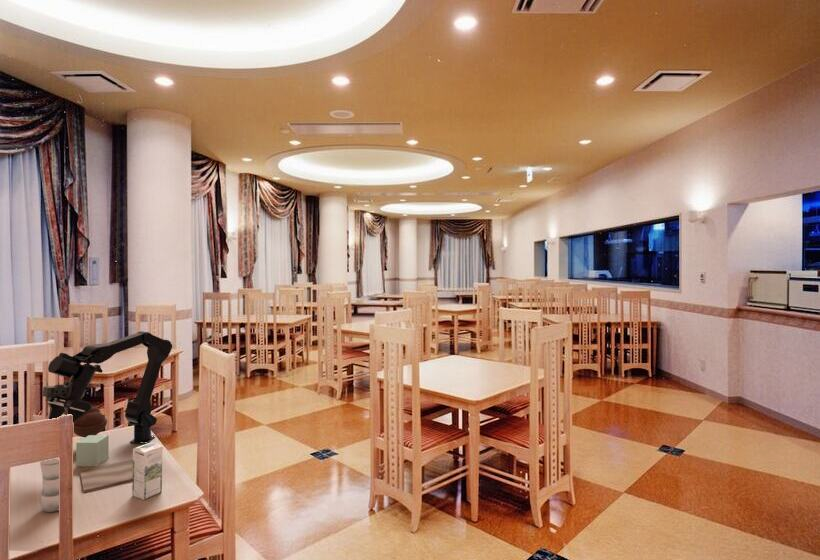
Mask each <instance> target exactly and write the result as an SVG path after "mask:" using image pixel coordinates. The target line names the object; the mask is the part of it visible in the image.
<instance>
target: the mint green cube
mask: <svg viewBox="0 0 820 560" xmlns="http://www.w3.org/2000/svg"><path fill="white" fill-rule="evenodd" d="M109 437H110V436H109V434H108V435H107V434H104V435H101V434H97V435H89V436H87V437H82V438H81V439H80V440H79V441H76V447H75V449H76V452H75V453H76V462H75V463H76V467H98V466H100V465H101V464H102V463H103V462H104V461H106V460H107V459H109V453H110V452H109Z"/></svg>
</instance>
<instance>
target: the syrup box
mask: <svg viewBox="0 0 820 560" xmlns="http://www.w3.org/2000/svg"><path fill="white" fill-rule="evenodd" d="M163 448H164V447H163V446H162V445H160V444H158V443H156V442H153V441H152V442H151V441H150V442H148V443H144V444H143V445H139V446H137V447H134V448H132V459H133V481H132V482H131V483H132V491H131V492H132V493H131V495H132V496H133V497H135V498H138V499H140V500H143V501H145V500H147V499H150V498H152V497H154V496H156V495H158V494H160V493H162V492H163V491H162V490H163V450H164V449H163Z"/></svg>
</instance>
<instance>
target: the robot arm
mask: <svg viewBox="0 0 820 560" xmlns="http://www.w3.org/2000/svg"><path fill="white" fill-rule="evenodd" d="M139 345H142V346H144V347H145V348H147V349H146V354H147V359H148V360H147V364H146V367H145V370H144V372H143V376H142V379H141V380H140V381H141V382H140V385H139V387H138V390H137V394H136V397H135V398H134V399H133V400H132V401H128V402H127V403H126V408H125V409H124V413H125V414H124V417H125V420H126V421H128V423H129V425H133V439H132V440H130V441H129V443H130V444H141V443H140V442H148V441H149V442H151V441H152V440H153V439H154V438H155V437H154V436H155V435H152V427H153V426H155V425H156V424H157V422H158V421H157V420H158V419H157V417H155V416H154V415H153V414H152V402H151V398H152V395H153V393H154V389H155V386H156V383H157V380H158V377H159V373H160V371H161V368H162V364H163V362H165V360H167V358H168V357H169V355H170V354H171V352H172V349H173V344H172V342H171V341H170V340H168V339H163V338H160V337H159V336H156V335H154V334H153V333H150V332H149V331H144V330H143V331H137V332H136V333H134V334H130V335H128V336H123V337H121V338H119V339H116V340H113V341H110V342H105V343H95V344H90V345H87V346H85V347H83V348H82V350H81V351H79V352H78V353H76V354H73V355H69V354H68V353H65V352H60V353H59V354H58V355H57V356H55V357H54V358H53V359H52V360H51V361H50V362H49V364H48V367H47V370H48V373H50V374H54V375H57V376H61V377H64V378H70V379H69V381H65V382H64V383H63V384H55V385H45V386H43V389H42V395H41V396H42V397H45V398H46V399H45V400H44V401H46V405H48V407H49V414H48V419H52V418H57V417H59V416H61V417H62V416H63V414H64V413H65V414H64V416H65V415H67V414H72V415H73V423H74V422H75V421H76V420H77V419H78V418H80V417H81V416H82V415H83V414H86V412H84V411H90V409H91V407H92V406H93V405H92V403H91V402H90V401H87V400H85V399H83V397H84V395H85V393H86V391H89V390H90V389H91V388H90V387H89V385H90V384H91V382H92V380H93V378H94V375H95V374H96V373H101V374H102V373H103V372H104V371H103V369H102V366H101V364H103V363H104V362H106V361H108V360H109V359H112V357H113V356H114V355H115V354H118V353H121V352H123V351H126V350H129V349H132V348H134V347H136V346H139ZM81 363H83V364H81ZM93 364H94V365H93ZM48 419H47V420H48ZM152 436H153V437H154V438H153V437H152ZM151 439H152V440H151ZM150 440H151V441H150ZM149 442H148V443H149Z"/></svg>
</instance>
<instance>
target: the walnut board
mask: <svg viewBox="0 0 820 560" xmlns="http://www.w3.org/2000/svg"><path fill="white" fill-rule="evenodd" d="M79 473H80V474H79V475H80V481H81V485H82V491H83V492H82V493H88V492H92V491H97V490H101V489H105V488H110V487H113V486H118V485H121V484H126V483H130V482H131V483H132V482H133V458H131V459H127V460H122V461H117V462H113V463H108V464H104V465H98V466H92V467H90V468H84V469H81V470H79Z"/></svg>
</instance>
